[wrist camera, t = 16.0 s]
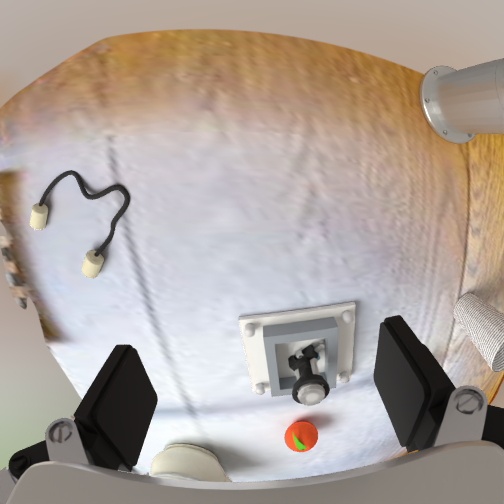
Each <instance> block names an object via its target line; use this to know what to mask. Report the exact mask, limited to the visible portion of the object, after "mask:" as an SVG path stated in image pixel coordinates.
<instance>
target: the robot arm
mask: <svg viewBox="0 0 504 504" xmlns="http://www.w3.org/2000/svg"><path fill="white" fill-rule="evenodd" d="M420 103H421V106H422V110H423V113H424V115H425V118H426V119H427V121H428V123H429V125H430V126H431V127H432V129H433V130H434V131H435V132H436V133H437V134H438V135H439V136H440V137H441V138H443V139H444V140H446V141H448V142H451V143H466V142H468V141H470V140H471V139H472V138H473V137H474V136H475V135H476V134H500V135H504V58H503V59H499V60H495V61H491V62H487V63H483V64H479V65H476V66H472V67H468V68H465V69H462V70H458V71H457V70H455V69H453V68H450V67H447V66H437V67H434V68H432V69H430V70H429V71H428V72H427V73H426V74H425V75H424V76H423V78H422V81H421V84H420ZM374 382H375V385H376V387H377V389H378V391H379V394H380V396H381V398H382V401H383V403H384V406H385V408H386V410H387V413H388V415H389V418H390V420H391V422H392V425H393V427H394V430H395V432H396V435H397V437H398V440H399V442H400V445H401V446H402V447H405V446H406V449H407V451H408V453H409V452H412V451H415V450H418V452H415V453H411V454H408V455H405V456H402V457H398V458H395V459H391V460H388V461H384V462H380V463H376V464H372V465H368V466H364V467H360V468H355V469H351V470H346V471H341V472H336V473H331V474H325V475H318V476H312V477H304V478H296V479H286V480H275V481H259V482H204V481H188V480H176V479H167V478H159V477H151V476H145V475H139V474H133V473H127V472H131V470H132V467H133V466H135V465H136V464H137V461H138V458H139V455H140V452H141V449H142V446H143V443H144V440H145V437H146V434H147V431H148V428H149V425H150V422H151V419H152V417H153V414H154V411H155V408H156V405H157V401H158V399H157V394H156V392H155V390H154V388H153V386H152V384H151V382H150V379H149V377H148V375H147V373H146V371H145V368H144V366H143V364H142V362H141V359H140V357H139V355H138V352H137V350H136V349H135V348H133V347H132V346H131V345H116V346H115V348H114V349H113V351H112V352H111V354H110V355H109V357H108V359H107V360H106V362H105V363H104V365H103V367H102V368H101V370H100V371H99V373H98V375H97V376H96V378H95V380H94V381H93V383H92V384H91V386H90V388H89V389H88V391H87V393H86V394H85V396H84V398H83V400H82V402H81V403H80V405H79V407H78V408H77V410H76V412H75V413H74V416H75V420H74V421H72V420H71V419H68V418H61V419H58V420H56V421H54V422H52V423H51V424H50V425H49V426H48V428H47V430H46V433H45V439H46V440H44V441H42V442H39V443H37V444H35V445H32V446H30V447H28V448H25V449H23V450H20V451H18V452H16V453H15V454H14V455H13V456H12V457H11V459H10V461H9V469H7V468H6V467H5V468H4V469H2V470H1V471H0V504H504V408H500V407H495V406H491V405H488V402H487V397H486V395H485V394H484V392H483V391H482V390H480V389H479V388H477V387H474V386H461V387H459V388H457V389H456V388H455V386H454V385H453V383H452V382H451V380H450V379H449V377H448V376H447V375H446V373H445V372H444V370H443V369H442V367H441V366H440V365H439V363H438V362H437V360H436V359H435V358H434V356H433V355H432V353H431V352H430V351H429V349H428V348H427V347H426V346H425V345H424V344H422V343H421V342H420V341H419V339H418V338H417V337H416V335H415V334H414V333H413V331H412V330H411V329H410V327H409V326H408V325H407V323H406V322H405V321H404V319H403V318H402V317H401V316H400V315H397V316H392V317H388V318H385V320H384V322H382V323H381V324H380V331H379V340H378V348H377V355H376V362H375V369H374ZM118 470H121V471H126V472H121V471H118Z"/></svg>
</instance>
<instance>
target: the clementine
mask: <svg viewBox="0 0 504 504" xmlns="http://www.w3.org/2000/svg"><path fill="white" fill-rule="evenodd" d="M284 438H285V443H286V445H287V446H288V447H289V448H290V449H291V450H293V451H297V452H305V451H308V450H309V449H311V448H313V447H314V445H315V444H316V442H317V440H318V432H317V429H316V428H315V427H314V426H313V425H312V424H310V423H308V422H296V423H294V424H292V425H290V426H289V427H288V429H287V430H286V432H285V437H284Z"/></svg>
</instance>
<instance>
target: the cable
mask: <svg viewBox="0 0 504 504" xmlns="http://www.w3.org/2000/svg"><path fill="white" fill-rule="evenodd" d="M68 175H74V176H75V178H76V180H77V182H78V184H79V187H80V189H81V192H82V194H83V195H84V196H85V197H86V198H87V199H92V200H93V199H98V198H100V197H102V196H104V195H106V194H108V193H110V192H111V191H114V190H119V191H121V193H122V194H123V195H124V197H125V201H124V204H123V206H122V208H121V209H120V210H119V212H118V213H117V214H116V215H115V217H114V218H113V220H112V222H111V231H110V234H109V236H108V238H107V239H106V240H105V242H104V243H103V244H102V246H101V247H100V248H99V249H98V250H97V251H93V250H91V251H88V252H87V253H86V256H85V259H84V261H83V264H82V267H81V272H82V273H83V275H85V276H86V277H88V278H96V277H97V275H98V273H99V271H100V269H101V266H102V264H103V262H104V258H103V256H102V255H101V252H102V251H103V250H104V249H105V248H106V247H107V245H108V244H109V243H110V241H111V240H112V238H113V235H114V231H115V224H116V222H117V221H118V219H119V218H120V217H121V215H122V214H123V213H124V212H125V210H126V209H127V207H128V205H129V201H130V199H129V194H128V192H127V191H126V190H125V188H124V187H122V186H120V185H114V186H111V187H109V188H107V189H105V190H103V191H102V192H100V193H98V194H94V195H90V194H88V193H87V191H86V189H85V187H84V185H83V182H82V180H81V178H80V176H79V175H78V173H76V172H75V171H72V170H70V171H67V172H64V173H63V174H61V175H60V176H58V177H57V178H56V179H55V180H54V181H53V182H52V183H51V184H50V185H49V186H48V188H47V189H46V191H45V192H44V194H43V196H42V198H41V200H40V203H37V204H35V205H33V206H32V212H31V218H30V226H31V227H32V228H34V230H36V229H40V230H41V231H42V230H43V228H44V227H45V225H46V220H47V214H48V207H47V206H46V205H45V204H43V203H44V201H45V199H46V197H47V195H48V193H49V192H50V190H51V189H52V188H53V187H54V185H55V184H56V183H57V182H59V181H60V180H61V179H62V178H64V177H66V176H68Z"/></svg>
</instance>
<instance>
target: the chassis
mask: <svg viewBox="0 0 504 504" xmlns="http://www.w3.org/2000/svg"><path fill="white" fill-rule="evenodd" d="M355 306H356V305H355V303H354V302H348V303H342V304H336V305H329V306H322V307H315V308H308V309H301V310H293V311H286V312H278V313H269V314H260V315H251V316H242V317H239V319H238V321H239V326H240V331H241V336H242V341H243V346H244V352H245V357H246V362H247V367H248V371H249V376H250V381H251V386H252V391H253V392H256V394H259V395H261V394H264V392H265V391H270V390H271V394H272V397H273V396H283V395H291V394H292V390H293V385H294V383H295V382H296V381H297V377H296V374H295V372H294V371H293V370H292V369H291V368H289V362H288V358H289V357H290V356H291V355H293V356H294V355H296V351H297V350H298V349H300V348H301V351H302V350H303V349H304V348H306V347H307V346H308V345H310V344H312V345H315V344H317V343H319V342H320V341H323V342H324V344H323V345H324V346H325V348H323V349H322V350H320V352H319V356H320V360H318V362H317V366H318V370H319V374H320V375H321V376H323V378H324V379H325V381H326V382H327V383H328V384H329V388H330V389H331V388H336V381H340V380H341V382H342V383H346V382H348V381H349V379H351V370H352V359H353V346H354V329H355ZM321 344H322V343H320V345H321ZM322 347H323V346H321V347H320V348H322ZM299 352H300V351H298V353H299ZM297 392H298V391H297Z"/></svg>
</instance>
